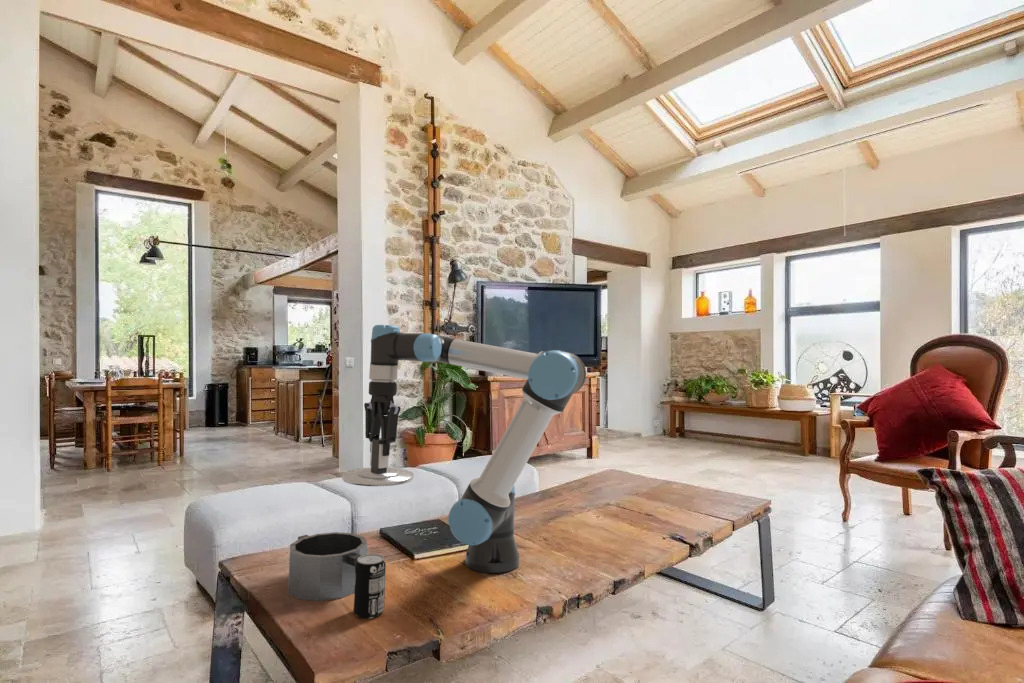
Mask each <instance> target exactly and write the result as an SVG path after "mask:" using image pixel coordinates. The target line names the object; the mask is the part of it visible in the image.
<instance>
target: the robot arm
mask: <svg viewBox="0 0 1024 683" xmlns="http://www.w3.org/2000/svg"><path fill="white" fill-rule="evenodd" d="M370 346H371V347H370V361H369V362H370V363H369V374H368V376H369V377H368V378H369V380H370V381H369V382H368V394H369V395H370V396H371V398H370V401H369V402H364V405H363V406H364V410H365V411H364V412H365V419H364V420H365V425H364V426H365V432H364V433H365V434H364V435H365V438H366V439H368V440H369V442H370V447H369V452H370V456H369V457H370V458H369V459H370V460H369V467H371V459H372V439H378V438H381V441H382V442H379V443H380V444H379V462H378V468H386V467H388V468H389V458H390V457H389V456H390V453H391V452H390V449H391V448H390V447H391V444H392V443H395V442H396V441H397V433H398V432H397V430H398V424H399V422H398V421H399V415H400V412H401V406H397V405H396V404H395V400H394V397H395V396H396V395H397V391H398V383H397V382H396V381H397V380H398V370H399V369H398V368H399V367H398V366H399V361H412V362H423V363H426V362H427V363H428V362H438V363H442V364H447V365H448V364H449V365H453V366H458V367H463V368H469V369H473V370H477V371H483V372H488V373H493V374H498V375H502V376H506V377H507V376H508V377H513V378H517V379H523V380H526V381H525V383H524V385H523V387H522V389H521V393H522V396H523V398H522V401H521V403H520V405H519V407H518V408H517V410H516V412H515V414H514V415H513V417H512V419H511V421H510V422H509V424H508V426H507V428H506V429H505V431H504V433H503V435H502V436H501V439H500V440H499V442H498V444H497V446H496V447H495V449H494V452H493V453H492V455H491V457H490V458H489V460H488V462H487V464H486V465H485V468H484V469H483V471H482V473H481V474H480V476H479V477H476V478H473V479H471V480H470V482H469V484H468V485H467V488H466V489H465V490H464V493H463V494H462V496H461V498H459V499H458V500H457V501H455V502H454V503H453V505H452V507H451V508H450V510H449V511H448V512H449V513H448V517H447V519H448V521H447V522H448V525H449V528H450V529H449V530H450V531H451V533H452V535H453V536H454V538H455V539H456V540H457V541H458V542H460V543H462V544H464V545H466V546H467V545H468V546H467V551H466V553H465V558H464V559H465V563H464V564H465V566H466V567H467V568H468V569H470V570H473V571H476V572H478V573H479V572H480V573H487V574H488V573H489V574H500V573H506V572H510V571H513V570H515V569H517V568H518V567H519V566H520V553H519V551H518V546H517V543H516V542H517V541H516V539H515V536H514V534H515V532H514V531H515V530H514V529H515V501H516V500H515V498H516V497H515V496H516V492H515V489H516V488H515V484H516V482H517V480H518V479H519V477H520V476H521V474H522V472H523V470H524V468H525V466H526V465H527V463H528V461H529V459H530V457H531V456H532V454H533V452H534V451H535V449H536V447H537V446H538V443H539V442H540V441H541V439H542V436H543V434H544V433H545V432H546V429H547V428H548V426H549V424H550V422H551V420H552V419H553V417H554V416H555V415H559V414H562V413H563V412H564V410H565V408H566V406H568V403H569V402H570V399H571V398H572V396H573V394H576V393H577V392H579V391H580V390H581V389H582V387H583V386H584V384H585V381H586V378H587V371H586V366H585V364H584V362H583V361H582V359H581V358H580V357H579V356H578V355H576V354H575V353H572V352H570V351H569V352H568V351H563V350H559V349H557V350H555V349H552V350H546V351H544V350H542V351H540V352H538V353H535V352H528V351H525V350H524V351H523V350H518V349H513V348H507V347H502V346H496V345H491V344H486V343H485V344H484V343H480V342H473V341H469V340H468V341H467V340H464V339H460V338H459V339H458V338H453V337H452V338H451V337H448V336H445V335H437V334H435V333H434V334H433V333H429V332H428V333H427V332H423V333H420V332H419V333H414V332H413V333H412V332H411V333H407V332H401V328H400V326H398V325H394V324H393V325H392V324H391V325H390V324H376V325H374V326H373V327H372V332H371V338H370ZM380 434H381V435H380ZM380 436H381V437H380Z"/></svg>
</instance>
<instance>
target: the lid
mask: <svg viewBox="0 0 1024 683" xmlns="http://www.w3.org/2000/svg"><path fill="white" fill-rule="evenodd" d="M379 442H382V441H381V437H379V438H378V439H372V459H371V466H370V467H361V468H355V469H350V470H347V471H344V472H343V473H342V481H343V482H344V483H346V484H348V485H355V486H361V487H362V486H364V487H392V486H398V485H404V484H408V483H410V482H412V481H413V480H414V473H413V472H412V471H410V470H408V469H403V468H397V467H389V466H388V467H386V468H378V462H379V444H380V443H379Z"/></svg>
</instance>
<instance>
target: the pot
mask: <svg viewBox="0 0 1024 683" xmlns="http://www.w3.org/2000/svg"><path fill="white" fill-rule="evenodd" d="M367 554H368V542H367V540H366V537H365V536H362V535H359V534H356V533H353V532H352V533H351V532H341V531H340V532H339V531H336V532H335V531H334V532H324V533H323V532H322V533H315V534H312V535H308V534H303V535H301V536H297V540H296V541H294V542H292V543H290V544H289V562H288V566H289V567H288V585H287V586H288V587H287V588H288V595H290V596H291V597H295V598H296V599H298V600H303V601H314V602H323V601H330V600H336V599H337V600H338V599H342V598H345V597H348V596H350V595H353V594H354V587H355V566H356V564H357V562H358V561H357V559H358V558H359V557H360V556H363V555H367Z"/></svg>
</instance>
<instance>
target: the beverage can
mask: <svg viewBox="0 0 1024 683" xmlns="http://www.w3.org/2000/svg"><path fill="white" fill-rule="evenodd" d="M357 561H358V562H357V564H356V566H355V587H354V593H353V594H354V596H353V614H354V615H355V616H356V617H357V618H359V619H364V620H365V619H366V620H367V619H374V618H377V617H379V616H380V615H381V614H382V613H383V612H384V611H385V598H386V597H385V593H386V566H387V565H386V562H385V557H384V555H382V554H377V553H369V554H368V553H367V555H363V556H360V557H359V558H358V559H357Z"/></svg>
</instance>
